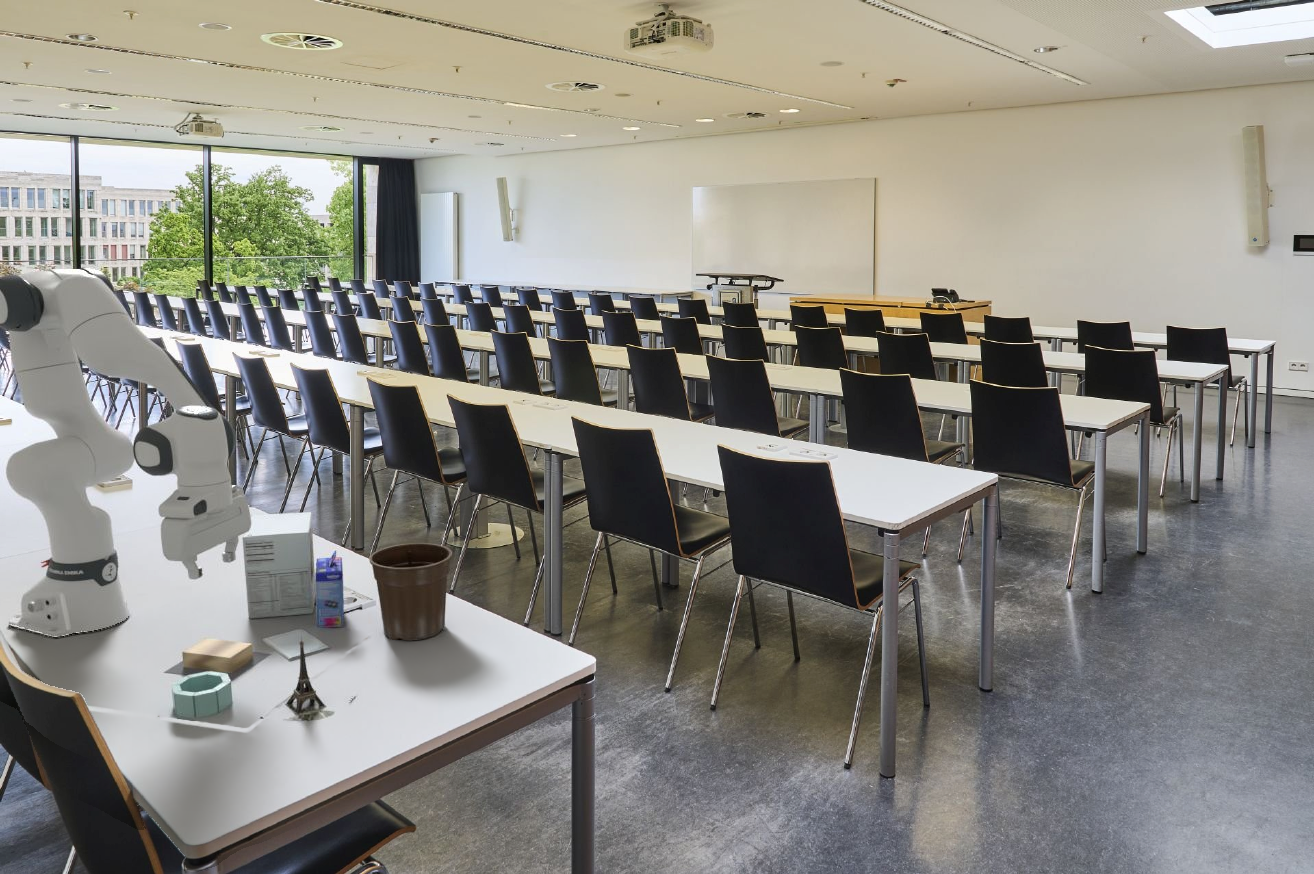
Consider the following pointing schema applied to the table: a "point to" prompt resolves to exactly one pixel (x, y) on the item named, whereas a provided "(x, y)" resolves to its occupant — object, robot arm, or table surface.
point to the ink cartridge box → (329, 592)
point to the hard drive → (295, 644)
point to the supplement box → (279, 565)
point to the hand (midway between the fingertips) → (213, 569)
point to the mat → (189, 671)
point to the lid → (217, 655)
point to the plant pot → (412, 588)
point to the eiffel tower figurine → (306, 697)
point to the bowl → (201, 694)
